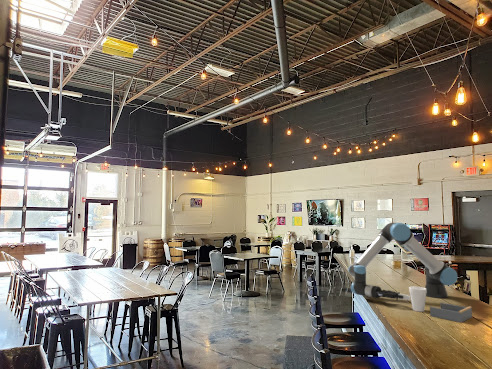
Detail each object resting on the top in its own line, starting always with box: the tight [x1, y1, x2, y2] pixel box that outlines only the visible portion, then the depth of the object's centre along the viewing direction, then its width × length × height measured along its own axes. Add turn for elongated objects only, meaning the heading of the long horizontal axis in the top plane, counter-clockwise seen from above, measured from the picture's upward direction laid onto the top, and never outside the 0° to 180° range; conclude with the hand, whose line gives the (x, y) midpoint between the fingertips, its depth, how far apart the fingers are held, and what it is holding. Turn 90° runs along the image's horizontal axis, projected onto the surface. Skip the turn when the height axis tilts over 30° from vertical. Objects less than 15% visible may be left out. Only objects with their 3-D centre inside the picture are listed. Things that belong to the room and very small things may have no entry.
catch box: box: [429, 302, 473, 323], centre depth 203 cm, size 16×16×6 cm
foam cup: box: [408, 286, 427, 313], centre depth 216 cm, size 10×9×13 cm
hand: (409, 297), depth 219 cm, fingers closed
